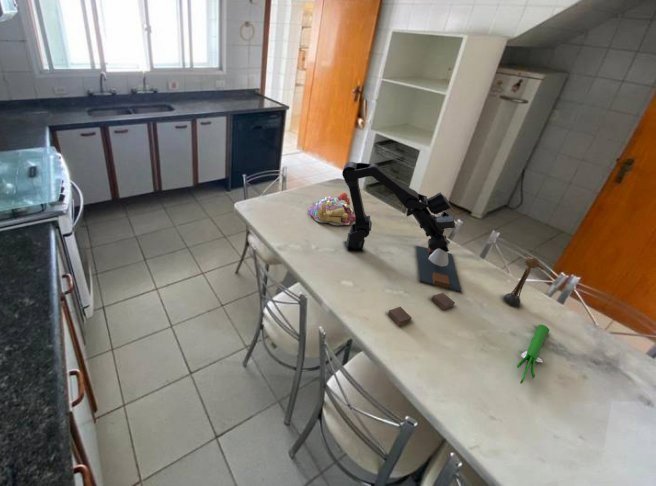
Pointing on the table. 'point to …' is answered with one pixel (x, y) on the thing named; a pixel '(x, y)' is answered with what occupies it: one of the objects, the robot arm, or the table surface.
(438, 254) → the flask
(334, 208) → the multicoloured lumpy mound
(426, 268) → the right mat
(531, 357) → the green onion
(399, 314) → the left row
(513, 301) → the wooden tabletop sculpture
